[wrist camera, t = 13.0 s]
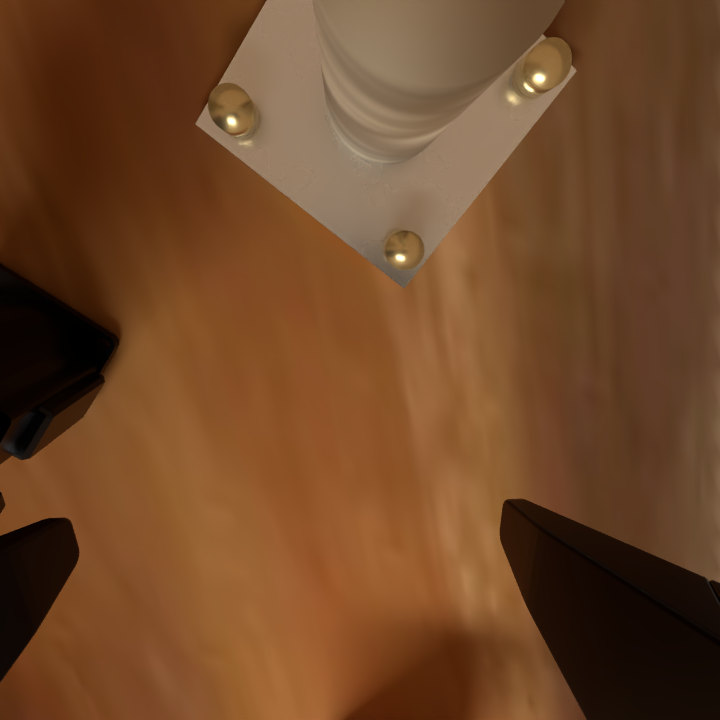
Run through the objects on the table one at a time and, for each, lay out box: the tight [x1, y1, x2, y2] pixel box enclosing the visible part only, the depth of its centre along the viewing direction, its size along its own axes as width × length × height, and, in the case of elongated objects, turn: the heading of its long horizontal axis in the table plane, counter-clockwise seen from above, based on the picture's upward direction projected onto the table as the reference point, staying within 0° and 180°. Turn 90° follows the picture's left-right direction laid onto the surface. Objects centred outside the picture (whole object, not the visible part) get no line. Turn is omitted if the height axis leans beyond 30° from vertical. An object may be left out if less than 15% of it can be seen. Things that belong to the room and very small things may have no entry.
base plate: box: [196, 0, 576, 288], centre depth 16 cm, size 11×11×2 cm
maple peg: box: [312, 0, 565, 164], centre depth 12 cm, size 5×5×10 cm
